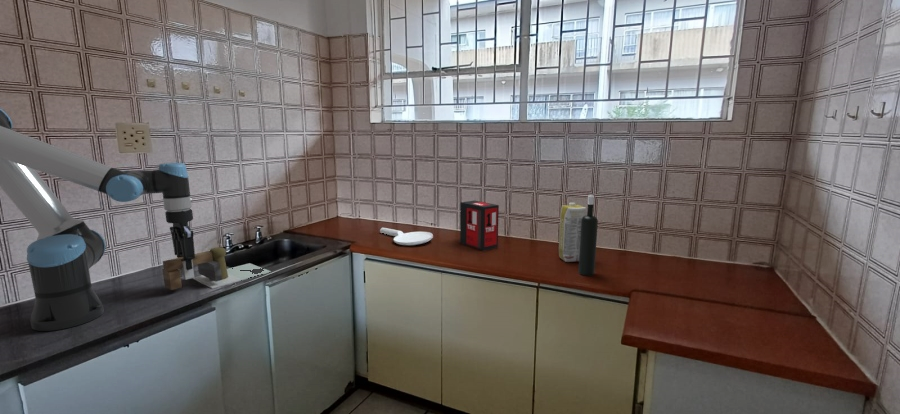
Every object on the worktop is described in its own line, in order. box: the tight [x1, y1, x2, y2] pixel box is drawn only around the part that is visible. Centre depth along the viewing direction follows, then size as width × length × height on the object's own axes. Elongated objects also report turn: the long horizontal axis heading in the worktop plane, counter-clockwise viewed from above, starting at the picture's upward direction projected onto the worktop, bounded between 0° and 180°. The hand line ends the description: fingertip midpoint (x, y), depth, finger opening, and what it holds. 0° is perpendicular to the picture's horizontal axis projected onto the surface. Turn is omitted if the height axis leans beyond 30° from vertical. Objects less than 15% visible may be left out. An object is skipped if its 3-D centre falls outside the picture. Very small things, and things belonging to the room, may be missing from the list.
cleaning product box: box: [459, 200, 500, 252], centre depth 191 cm, size 16×9×20 cm, turn 38°
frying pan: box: [379, 227, 434, 246], centre depth 204 cm, size 35×19×5 cm, turn 45°
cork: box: [209, 246, 228, 280], centre depth 147 cm, size 6×6×11 cm
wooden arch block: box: [162, 250, 222, 291], centre depth 140 cm, size 14×14×9 cm
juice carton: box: [558, 202, 587, 263], centre depth 169 cm, size 9×8×24 cm
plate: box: [192, 262, 272, 290], centre depth 152 cm, size 21×16×1 cm
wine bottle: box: [578, 194, 599, 277], centre depth 152 cm, size 6×6×30 cm
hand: (187, 276), depth 139 cm, fingers closed on wooden arch block, 3 cm apart
